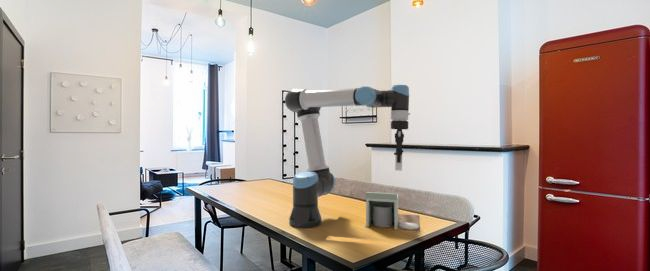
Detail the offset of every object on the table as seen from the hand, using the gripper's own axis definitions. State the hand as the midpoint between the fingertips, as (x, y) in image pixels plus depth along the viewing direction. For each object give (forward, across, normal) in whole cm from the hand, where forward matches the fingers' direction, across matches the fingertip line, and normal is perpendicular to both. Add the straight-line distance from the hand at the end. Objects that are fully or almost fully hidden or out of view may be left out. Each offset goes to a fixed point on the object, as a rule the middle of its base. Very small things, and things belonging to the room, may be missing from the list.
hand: (398, 168), depth 141 cm
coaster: (+25, -1, -5) cm, 26 cm away
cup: (+27, 0, +6) cm, 28 cm away
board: (+27, +6, +2) cm, 28 cm away
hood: (+25, 0, +6) cm, 26 cm away
